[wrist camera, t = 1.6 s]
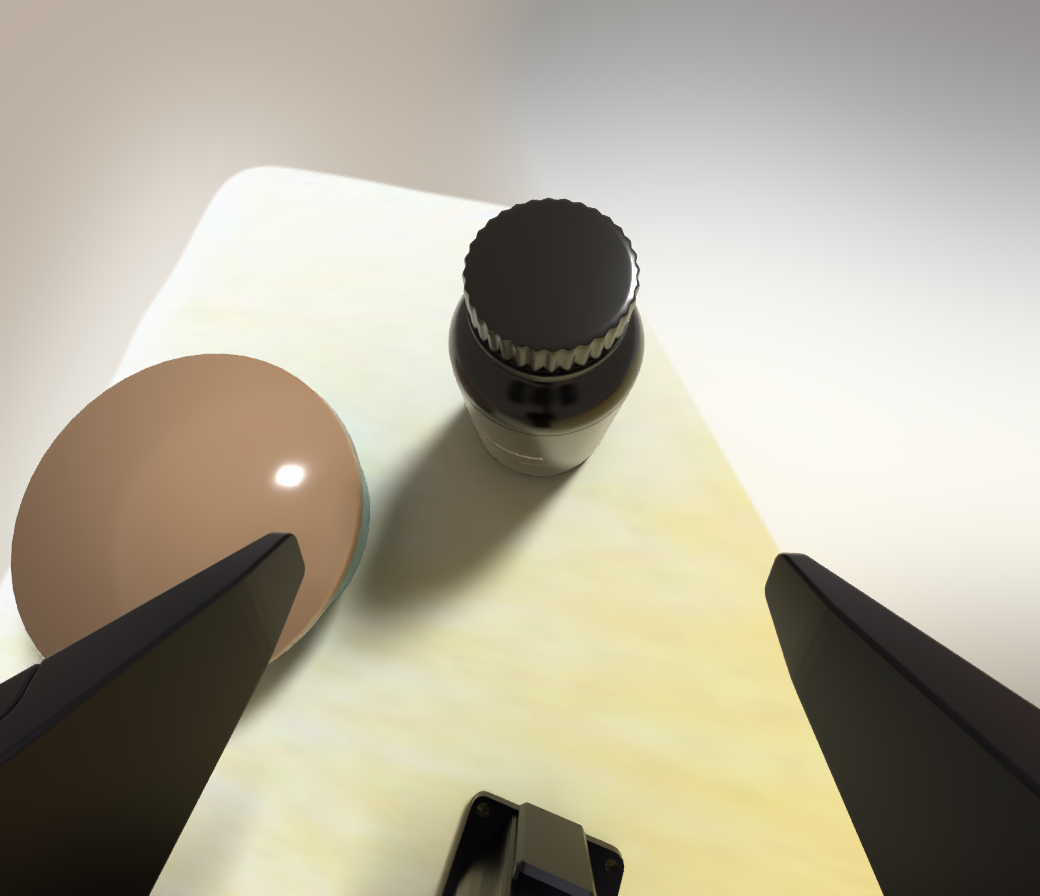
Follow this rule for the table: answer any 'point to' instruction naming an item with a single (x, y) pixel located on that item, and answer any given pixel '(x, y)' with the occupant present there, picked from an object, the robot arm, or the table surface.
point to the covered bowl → (186, 495)
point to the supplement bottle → (547, 333)
